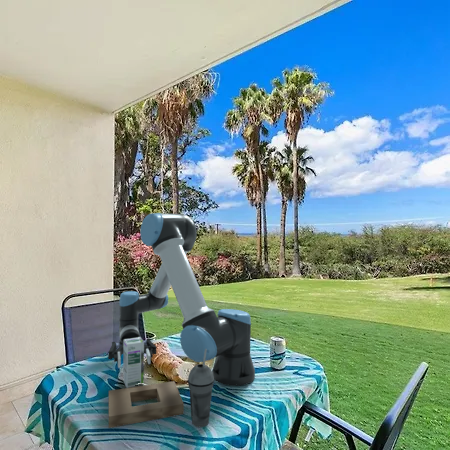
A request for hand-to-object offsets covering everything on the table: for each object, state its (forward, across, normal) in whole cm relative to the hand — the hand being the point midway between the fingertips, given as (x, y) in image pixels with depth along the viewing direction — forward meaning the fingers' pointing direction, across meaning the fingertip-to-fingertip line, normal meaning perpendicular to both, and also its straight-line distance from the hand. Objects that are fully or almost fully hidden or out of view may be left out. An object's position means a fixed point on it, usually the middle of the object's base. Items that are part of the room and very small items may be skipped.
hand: (134, 361), depth 108 cm
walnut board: (+11, -2, -9) cm, 15 cm away
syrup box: (-5, 0, -9) cm, 10 cm away
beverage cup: (+23, -16, -9) cm, 30 cm away
